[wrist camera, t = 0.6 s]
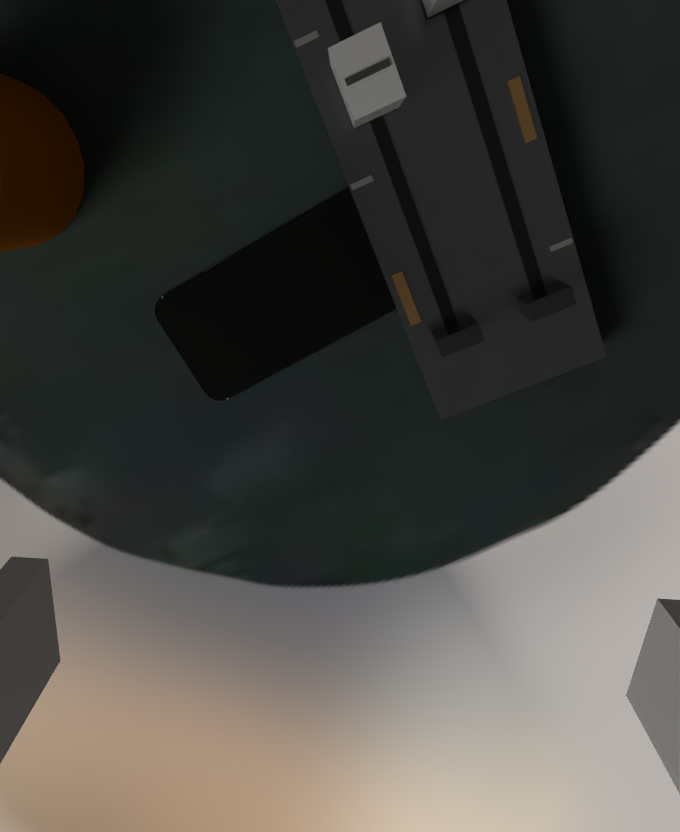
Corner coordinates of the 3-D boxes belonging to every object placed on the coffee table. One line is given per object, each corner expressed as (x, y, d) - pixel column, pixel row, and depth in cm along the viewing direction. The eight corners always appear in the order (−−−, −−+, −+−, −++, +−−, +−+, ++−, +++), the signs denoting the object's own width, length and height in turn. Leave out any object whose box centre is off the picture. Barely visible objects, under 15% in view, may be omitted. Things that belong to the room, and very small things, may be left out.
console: (235, -101, 29) (219, -143, 25) (433, -209, 28) (447, -270, 24) (435, 408, 38) (445, 433, 34) (593, 347, 37) (621, 366, 33)
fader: (330, 65, 30) (327, 47, 26) (376, 42, 29) (380, 21, 25) (354, 128, 31) (355, 120, 27) (399, 107, 30) (406, 96, 26)
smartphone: (432, 290, 35) (214, 407, 38) (430, 289, 36) (216, 404, 39) (373, 171, 33) (146, 304, 36) (373, 171, 34) (149, 302, 36)
